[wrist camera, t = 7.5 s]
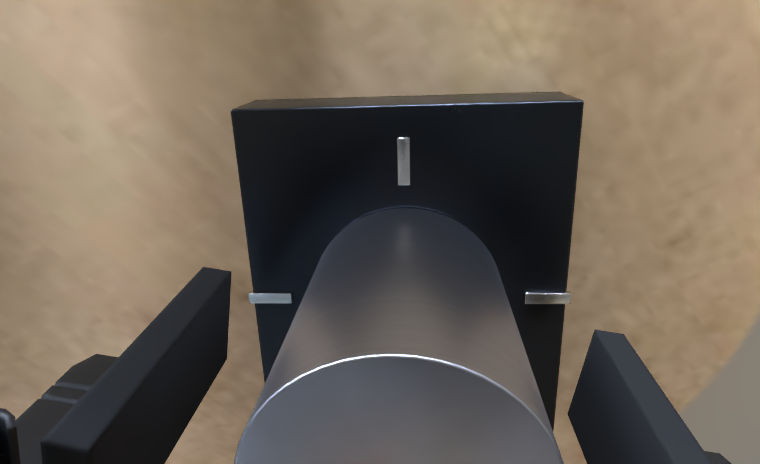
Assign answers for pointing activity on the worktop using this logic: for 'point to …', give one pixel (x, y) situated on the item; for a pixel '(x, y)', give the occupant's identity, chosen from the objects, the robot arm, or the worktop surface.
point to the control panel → (414, 194)
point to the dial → (402, 357)
